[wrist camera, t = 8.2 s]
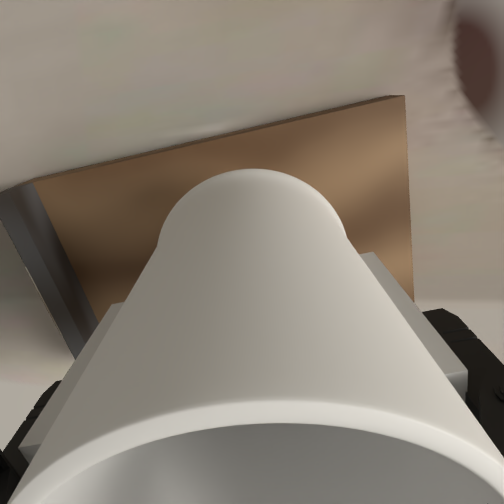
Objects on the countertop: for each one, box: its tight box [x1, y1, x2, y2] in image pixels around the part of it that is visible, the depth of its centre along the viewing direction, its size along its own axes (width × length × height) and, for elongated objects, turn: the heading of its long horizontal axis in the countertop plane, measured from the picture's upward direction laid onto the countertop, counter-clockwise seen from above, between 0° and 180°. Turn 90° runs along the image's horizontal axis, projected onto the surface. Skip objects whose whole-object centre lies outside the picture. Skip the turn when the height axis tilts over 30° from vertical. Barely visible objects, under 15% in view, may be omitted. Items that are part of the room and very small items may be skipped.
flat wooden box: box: [0, 95, 414, 360], centre depth 20 cm, size 12×20×4 cm, turn 103°
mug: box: [7, 169, 504, 504], centre depth 11 cm, size 12×8×12 cm
